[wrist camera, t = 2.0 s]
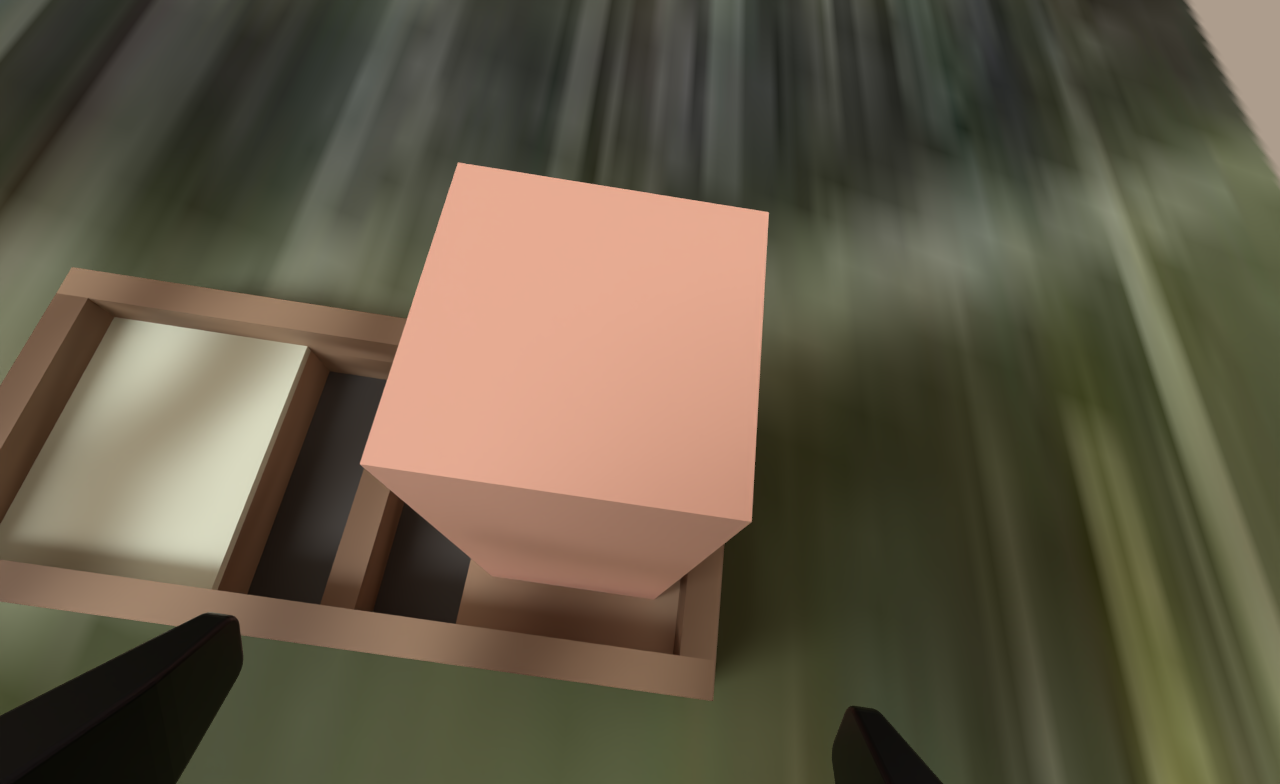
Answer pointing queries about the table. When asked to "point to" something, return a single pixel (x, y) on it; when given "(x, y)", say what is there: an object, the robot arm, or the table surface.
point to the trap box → (276, 496)
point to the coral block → (579, 381)
